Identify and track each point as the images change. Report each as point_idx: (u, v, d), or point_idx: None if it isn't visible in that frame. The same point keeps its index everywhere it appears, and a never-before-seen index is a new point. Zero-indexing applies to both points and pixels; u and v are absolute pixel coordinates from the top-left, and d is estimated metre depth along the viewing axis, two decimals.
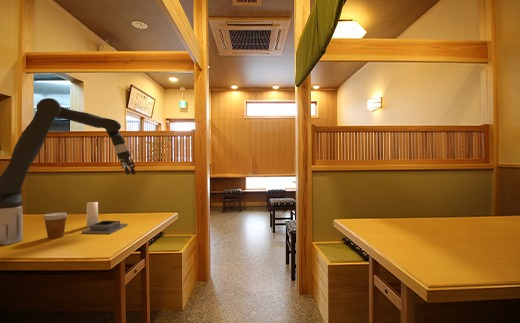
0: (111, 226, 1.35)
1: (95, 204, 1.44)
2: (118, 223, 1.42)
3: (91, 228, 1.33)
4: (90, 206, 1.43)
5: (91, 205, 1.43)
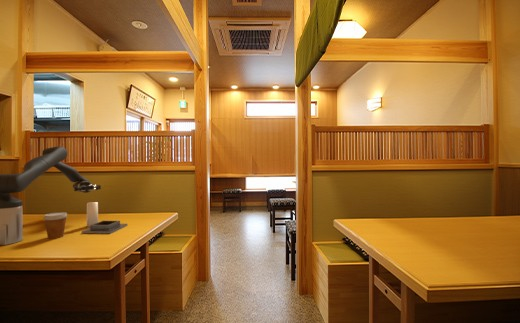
0: (111, 226, 1.35)
1: (95, 204, 1.44)
2: (118, 223, 1.42)
3: (91, 228, 1.33)
4: (90, 206, 1.43)
5: (91, 205, 1.43)
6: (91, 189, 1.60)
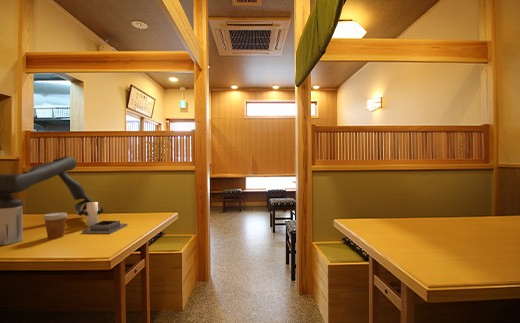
0: (111, 226, 1.35)
1: (95, 204, 1.44)
2: (118, 223, 1.42)
3: (91, 228, 1.33)
4: (90, 206, 1.43)
5: (91, 205, 1.43)
6: None
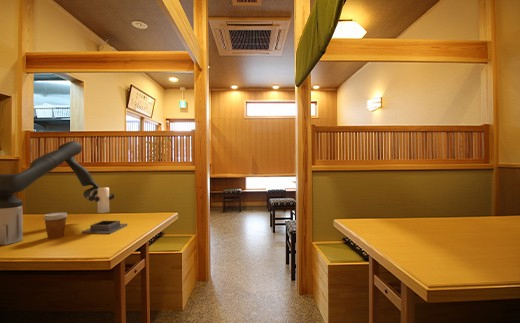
0: (111, 226, 1.35)
1: (106, 189, 1.38)
2: (118, 223, 1.42)
3: (91, 228, 1.33)
4: (101, 191, 1.37)
5: (102, 190, 1.37)
6: None
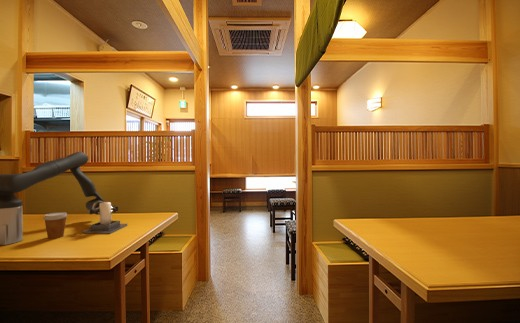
0: (111, 226, 1.35)
1: (108, 204, 1.37)
2: (118, 223, 1.42)
3: (91, 228, 1.33)
4: (103, 206, 1.35)
5: (104, 205, 1.35)
6: None
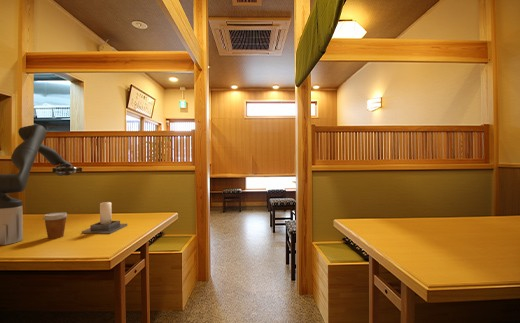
0: (111, 226, 1.35)
1: (109, 204, 1.37)
2: (118, 223, 1.42)
3: (91, 228, 1.33)
4: (104, 206, 1.35)
5: (105, 205, 1.36)
6: (71, 171, 1.50)
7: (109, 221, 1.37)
